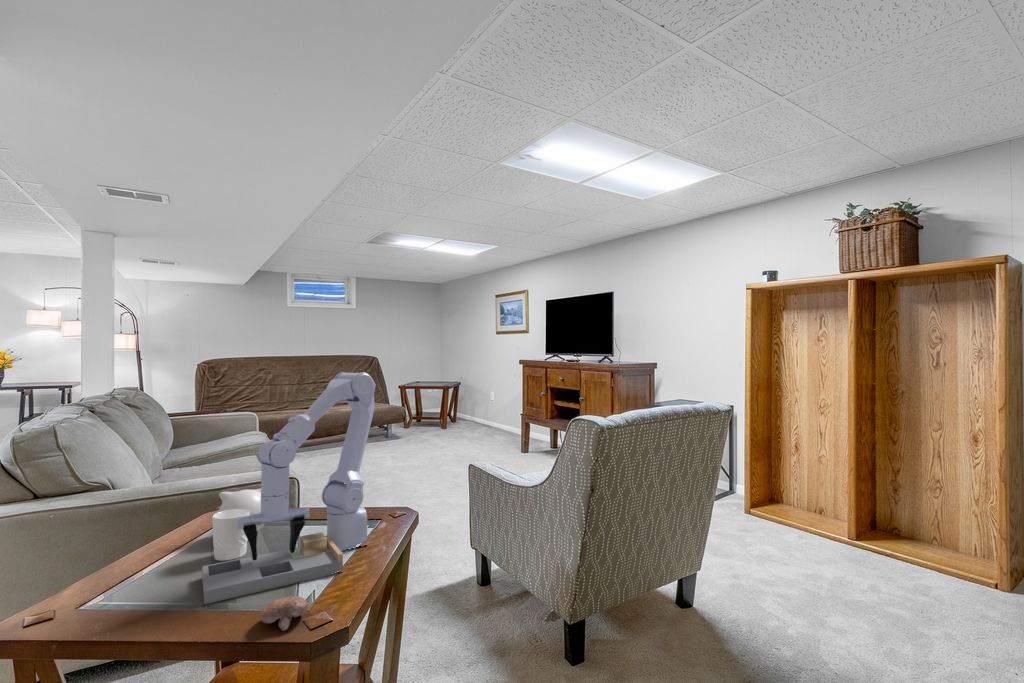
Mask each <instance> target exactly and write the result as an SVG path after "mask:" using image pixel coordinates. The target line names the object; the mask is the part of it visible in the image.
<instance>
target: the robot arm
mask: <svg viewBox="0 0 1024 683" xmlns="http://www.w3.org/2000/svg"><path fill="white" fill-rule="evenodd" d="M376 386H377V384H376V382H375V381H374V379H373V378H372V376H371V375H370V374H369V373H367V372H363V371H362V372H343V371H342V372H339V373H337V374H336V375H335V376H334V377H333V378H332V379H331V380H330V381H329V382H328V384H327V387H326V388H325V389H324V390H323V391H322V392H321V394H320V395H319V396H318V397H317V398H316V399H315V401H314V402H313V403H312V404H311V405H310V406H309V408H308V409H307V410H306V411H305V412H304V413H302V414H296V415H294V416H290V417H289V418H288V419H287V421H288V422H287V424H285V425H284V426H283V427H282V429H280V431H278V432H277V433H274V434H273V435H272V439H269V440H266V441H265V442H263V443H262V444H261V445H260V447H259V450H258V452H256V453H255V454H256V455H255V456H256V459H257V460H258V462H259V464H260V466H261V469H260V470H261V473H260V474H261V477H260V478H261V480H260V483H261V484H260V488H261V511H260V513H258V514H254V515H250V516H246V517H241V518H238V519H237V527H238V529H243V530H244V533H245V535H246V537H247V539H248V540H247V542H248V543H249V546H250V550H251V552H250V553H251V557H252V559H253V560H257V555H258V549H257V543H258V542H257V540H258V539H257V538H258V532H257V530H256V529H257V527H256V525H262V524H265V525H266V524H272V523H280V522H284V521H285V522H286V521H289V524H290V525H289V528H290V531H289V532H290V535H289V538H290V539H289V549H290V552H291V553H294V552H295V548H296V546H297V542H298V540H299V538H300V534H301V532H302V530H303V528H304V526H305V525H306V524H305V523H306V520H305V519H308V518H310V508H309V507H297V508H289V507H290V505H289V504H290V503H289V502H290V500H289V499H290V464H291V463H292V462H293V461H294V460H295V458H296V454H297V453H296V452H297V451H298V450H299V448H300V447H301V446H302V444H304V442H305V441H306V440H308V438H309V437H310V436H311V435H312V434H313V433H314V432H315V431H316V423H317V422H318V421H319V420H320V419H322V417H323V416H324V415H325V414H326V413H327V412H328V411H330V410H331V409H332V408H333V407H334V406H335V405H336V404H337V403H338V402H340V401H344V402H346V403H347V404H348V406H349V407H350V409H351V414H350V417H349V422H348V427H347V430H346V432H345V433H346V434H345V438H344V440H343V442H344V443H343V445H342V448H341V449H342V450H341V453H340V458H339V461H338V465H337V469H336V470H335V471H334V472H333V473H332V474H330V476H329V477H328V480H327V484H326V485H325V486H324V488H323V489H322V492H321V501H322V502H323V504H324V505H325V506H326V507H325V508H326V510H327V512H326V513H327V514H326V516H327V517H326V519H327V520H326V536H327V535H328V536H329V538H330V539H331V540H332V541H333V542H334V544H335V545H336V546H337V547H338V548H339V550H340V551H341V552H344V551H343V550H345V551H347V550H346V549H349V548H353V547H356V545H357V544H360V543H362V542H364V541H366V540H367V541H368V514H367V510H366V508H365V507H363V506H362V504H363V501H364V490H363V489H364V484H365V481H364V479H363V478H362V476H361V475H360V470H361V466H362V462H363V458H364V453H365V449H366V445H367V442H368V437H369V433H370V428H371V424H372V422H373V416H374V412H375V406H376V404H375V395H374V394H375V390H376ZM349 550H350V549H349Z"/></svg>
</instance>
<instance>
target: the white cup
mask: <svg viewBox="0 0 1024 683" xmlns="http://www.w3.org/2000/svg"><path fill="white" fill-rule="evenodd" d="M246 516H250V511H249V510H247V509H232V510H226V511H222V512H219V511H217V512H216V513H214V514H213V515H212V517H211V518H212V544H213V545H212V546H213V557H214V560H215V561H220V562H221V561H222V562H227V561H232V560H237V559H241V557H243V556H245V555H246V554H247V551H248V550H247V549H248V539H247V537H246V535H245V533H244V530H243V529H238V527H237V519H238V518H241V517H246Z"/></svg>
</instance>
